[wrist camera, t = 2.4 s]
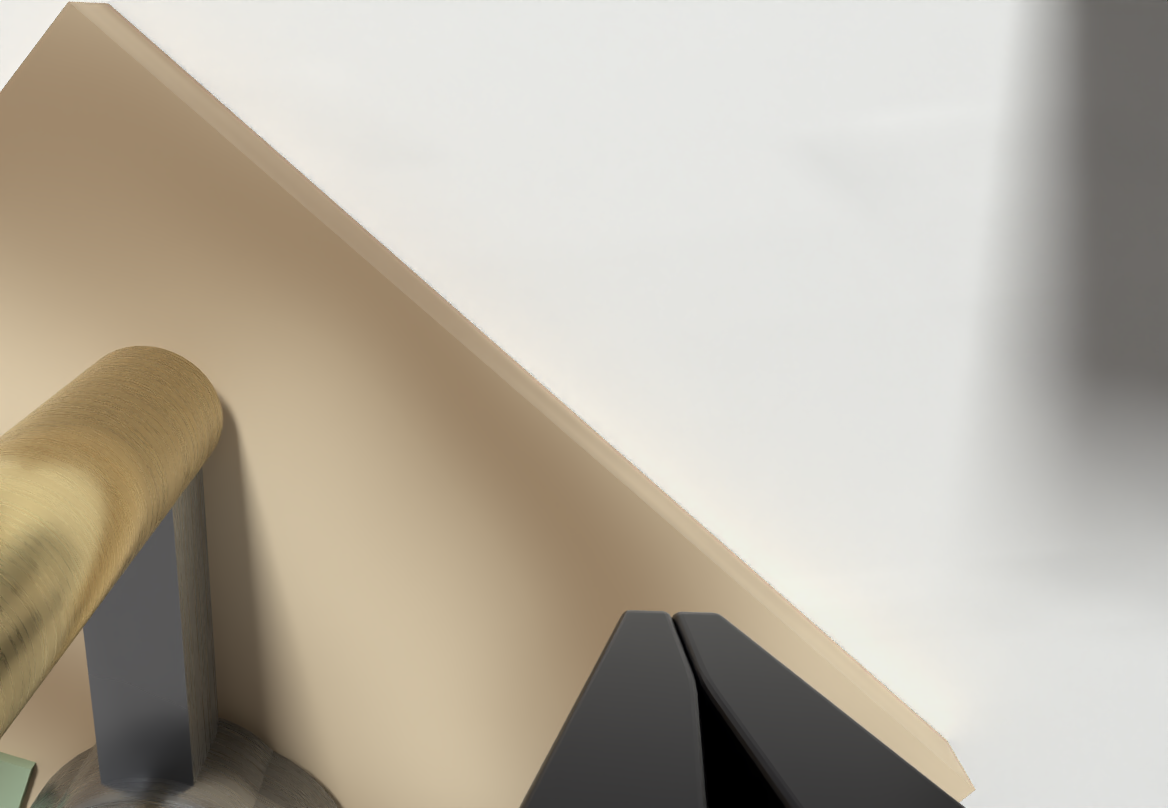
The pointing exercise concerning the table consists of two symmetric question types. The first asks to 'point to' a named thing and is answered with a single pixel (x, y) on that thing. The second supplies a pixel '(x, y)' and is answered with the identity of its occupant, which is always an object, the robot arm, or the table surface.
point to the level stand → (344, 457)
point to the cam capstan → (127, 590)
